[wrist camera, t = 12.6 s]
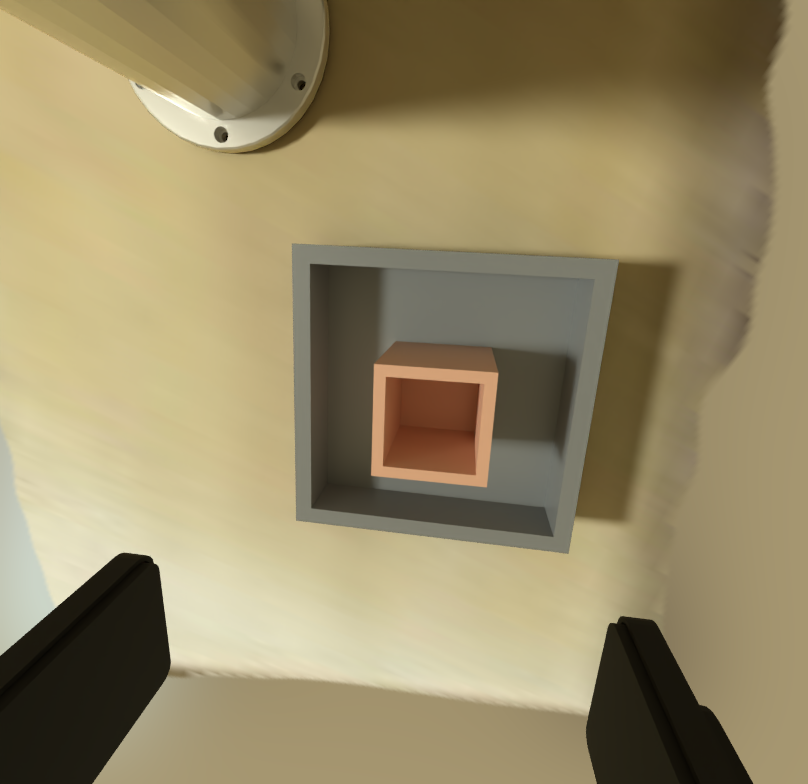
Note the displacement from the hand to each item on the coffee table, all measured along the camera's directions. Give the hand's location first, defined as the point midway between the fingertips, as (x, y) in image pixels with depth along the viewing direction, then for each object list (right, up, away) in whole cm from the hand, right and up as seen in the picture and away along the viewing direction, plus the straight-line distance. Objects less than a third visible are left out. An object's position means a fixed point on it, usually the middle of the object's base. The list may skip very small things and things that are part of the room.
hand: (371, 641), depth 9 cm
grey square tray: (+3, +6, +21) cm, 22 cm away
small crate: (+3, +5, +20) cm, 21 cm away
